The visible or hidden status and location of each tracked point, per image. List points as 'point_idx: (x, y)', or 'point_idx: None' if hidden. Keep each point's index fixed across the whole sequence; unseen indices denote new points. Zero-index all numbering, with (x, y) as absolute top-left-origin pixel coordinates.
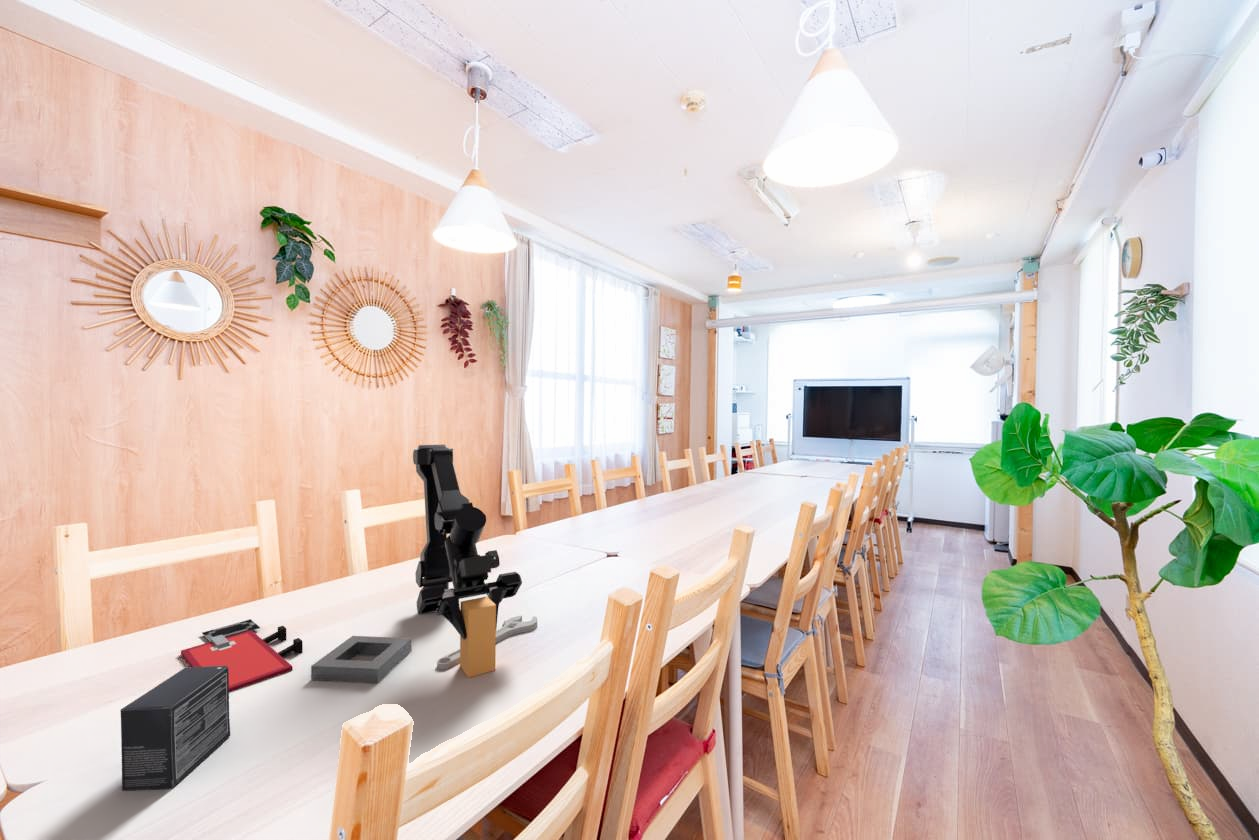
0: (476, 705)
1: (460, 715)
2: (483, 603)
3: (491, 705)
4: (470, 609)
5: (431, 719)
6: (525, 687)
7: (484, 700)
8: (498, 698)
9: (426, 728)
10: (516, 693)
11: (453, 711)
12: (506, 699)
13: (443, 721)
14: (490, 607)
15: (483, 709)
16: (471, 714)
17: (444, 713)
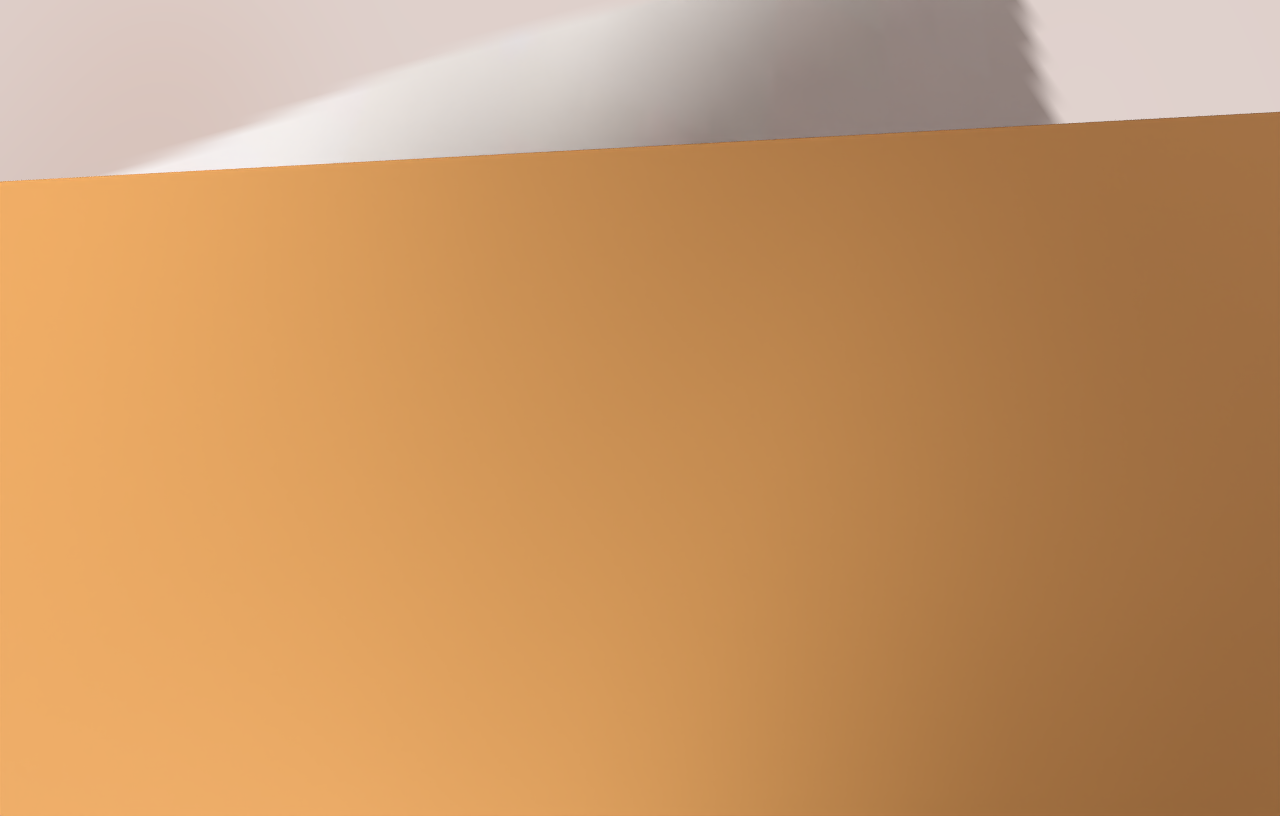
0: (677, 99)
1: (801, 38)
2: (665, 780)
3: (564, 49)
4: None
5: (995, 83)
6: (200, 163)
7: (606, 134)
8: (488, 111)
9: (1016, 8)
10: (317, 111)
11: (849, 103)
12: (428, 69)
13: (914, 27)
14: (342, 194)
15: (632, 30)
16: (725, 14)
17: (912, 109)
